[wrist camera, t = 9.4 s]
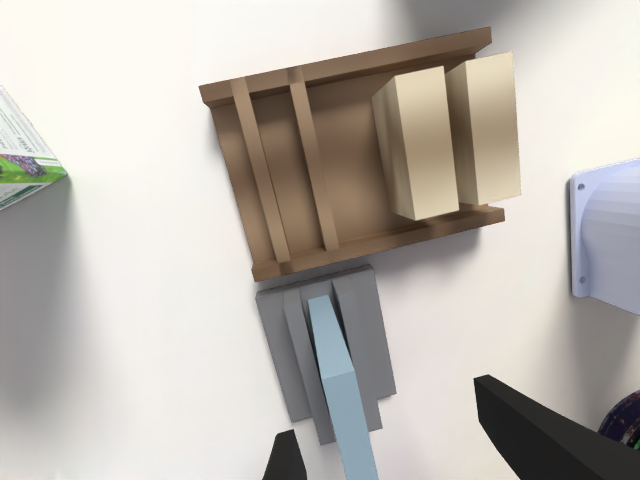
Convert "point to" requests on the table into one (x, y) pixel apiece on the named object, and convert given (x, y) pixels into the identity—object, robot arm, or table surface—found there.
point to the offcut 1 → (416, 144)
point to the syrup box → (22, 155)
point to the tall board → (342, 392)
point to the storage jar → (624, 422)
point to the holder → (300, 350)
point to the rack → (326, 157)
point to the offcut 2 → (484, 129)
